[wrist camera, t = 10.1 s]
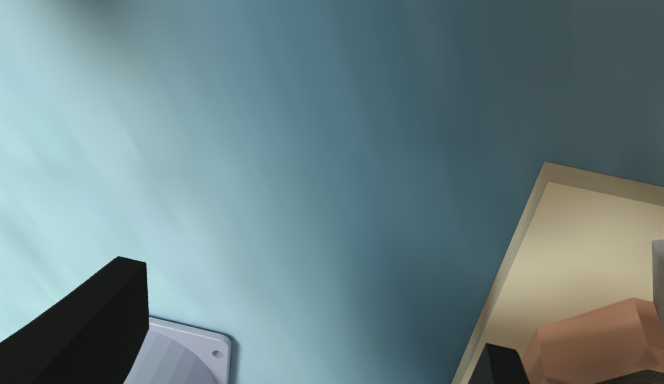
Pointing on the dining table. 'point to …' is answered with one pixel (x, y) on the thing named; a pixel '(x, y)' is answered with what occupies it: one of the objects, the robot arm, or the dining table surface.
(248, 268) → the dining table surface
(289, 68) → the dining table surface
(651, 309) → the coupling stand
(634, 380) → the cylinder
